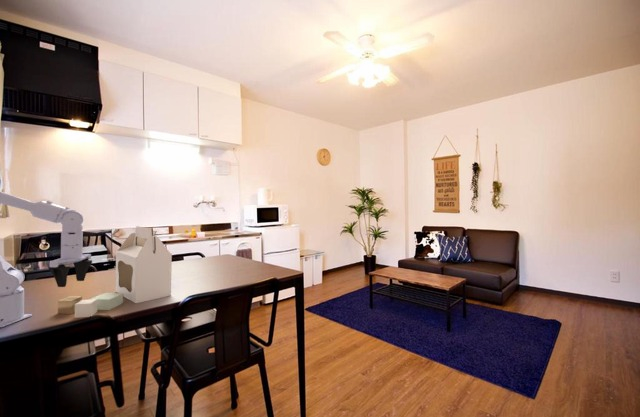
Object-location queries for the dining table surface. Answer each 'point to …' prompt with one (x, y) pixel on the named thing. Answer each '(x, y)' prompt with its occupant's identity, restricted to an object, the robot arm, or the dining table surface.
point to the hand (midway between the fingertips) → (71, 283)
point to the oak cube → (68, 304)
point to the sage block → (108, 300)
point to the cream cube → (86, 308)
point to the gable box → (143, 267)
